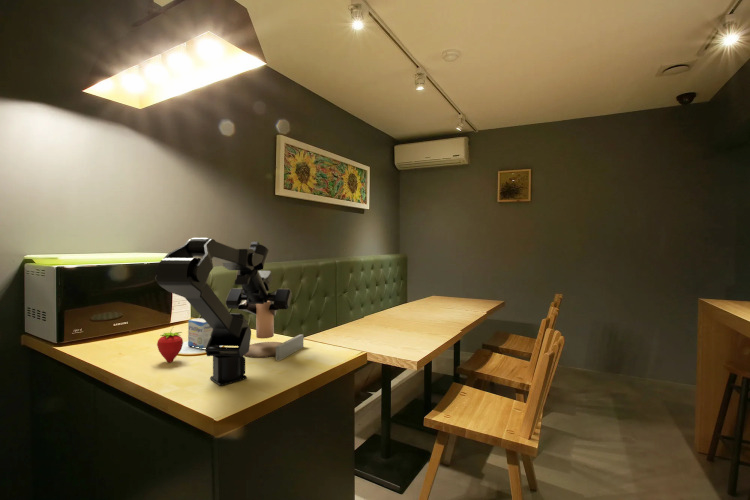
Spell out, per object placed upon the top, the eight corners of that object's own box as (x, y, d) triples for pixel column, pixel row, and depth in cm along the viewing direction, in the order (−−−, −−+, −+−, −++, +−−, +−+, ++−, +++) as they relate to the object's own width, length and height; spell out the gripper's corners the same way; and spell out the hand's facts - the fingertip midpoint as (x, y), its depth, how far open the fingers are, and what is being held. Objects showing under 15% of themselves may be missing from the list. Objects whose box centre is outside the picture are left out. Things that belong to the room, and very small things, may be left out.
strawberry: (173, 357, 102) (173, 323, 102) (188, 361, 99) (188, 326, 98) (152, 363, 97) (151, 327, 97) (166, 368, 94) (166, 330, 93)
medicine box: (187, 346, 113) (187, 320, 113) (200, 343, 117) (199, 317, 117) (203, 350, 110) (203, 322, 110) (215, 346, 114) (215, 319, 114)
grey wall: (279, 360, 100) (279, 346, 99) (275, 360, 100) (275, 346, 100) (303, 346, 113) (303, 334, 113) (300, 346, 113) (300, 334, 113)
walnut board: (254, 361, 99) (254, 358, 99) (233, 350, 109) (233, 348, 109) (297, 350, 109) (297, 347, 109) (273, 341, 119) (273, 339, 119)
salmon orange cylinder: (270, 338, 106) (270, 302, 106) (253, 338, 106) (253, 302, 106) (275, 334, 111) (275, 299, 111) (259, 334, 112) (259, 299, 112)
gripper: (290, 262, 104) (300, 294, 115) (229, 261, 105) (245, 293, 117) (281, 291, 96) (293, 323, 107) (216, 291, 98) (234, 322, 109)
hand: (266, 314), depth 110 cm, fingers closed on salmon orange cylinder, 5 cm apart
